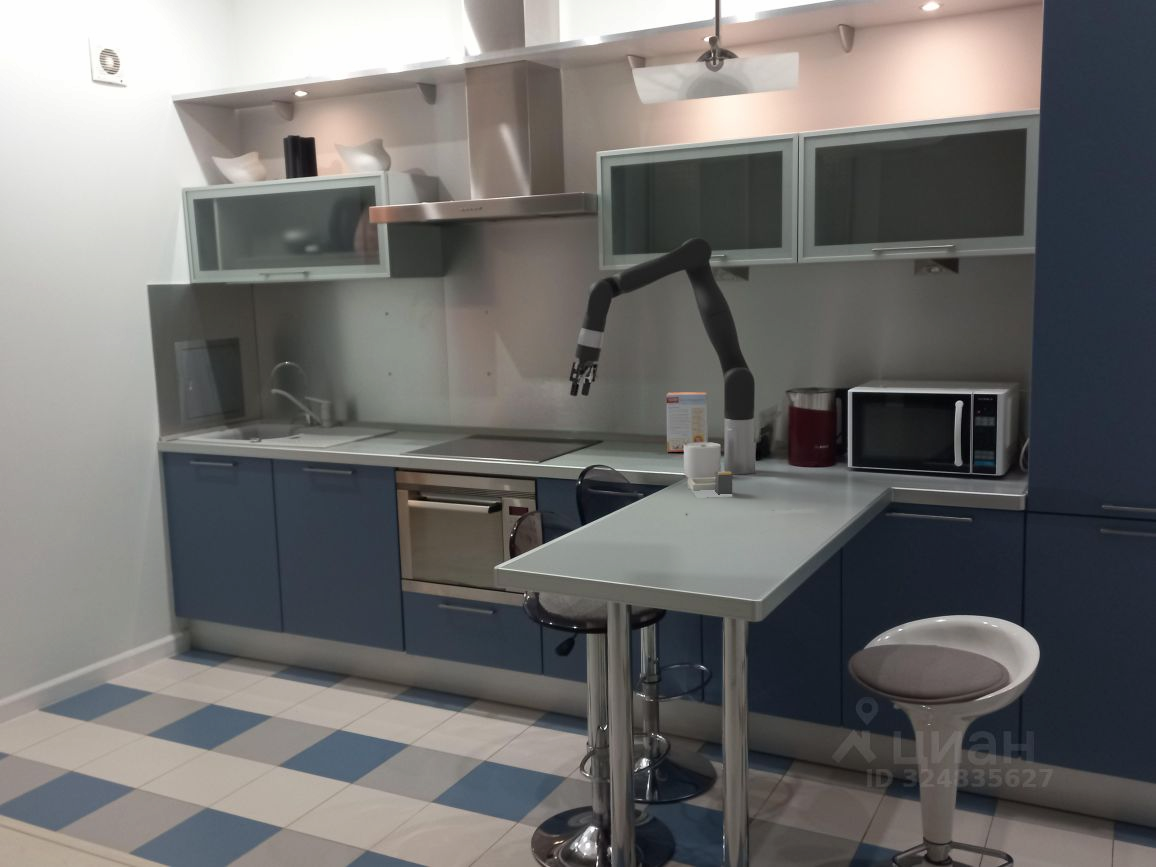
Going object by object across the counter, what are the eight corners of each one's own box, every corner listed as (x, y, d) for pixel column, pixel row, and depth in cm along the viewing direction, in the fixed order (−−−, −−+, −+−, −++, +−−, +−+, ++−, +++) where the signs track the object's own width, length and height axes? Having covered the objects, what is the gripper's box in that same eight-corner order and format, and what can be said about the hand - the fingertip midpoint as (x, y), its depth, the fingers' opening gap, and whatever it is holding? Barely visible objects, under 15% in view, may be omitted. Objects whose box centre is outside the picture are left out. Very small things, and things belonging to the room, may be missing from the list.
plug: (729, 492, 294) (729, 469, 293) (732, 495, 290) (732, 472, 289) (715, 492, 294) (715, 470, 293) (718, 495, 290) (718, 472, 289)
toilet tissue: (718, 480, 314) (718, 448, 313) (679, 479, 317) (679, 447, 315) (722, 473, 324) (722, 442, 323) (684, 472, 327) (684, 441, 326)
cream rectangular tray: (722, 486, 306) (722, 476, 306) (735, 500, 288) (735, 489, 288) (685, 487, 306) (685, 478, 305) (696, 501, 288) (696, 491, 287)
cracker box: (707, 450, 364) (707, 391, 360) (707, 453, 358) (706, 393, 355) (668, 450, 366) (667, 391, 363) (666, 453, 361) (666, 393, 357)
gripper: (591, 346, 311) (580, 398, 314) (609, 347, 324) (598, 397, 327) (569, 341, 314) (558, 393, 317) (588, 342, 327) (577, 392, 330)
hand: (579, 395), depth 322 cm, fingers open, 8 cm apart
